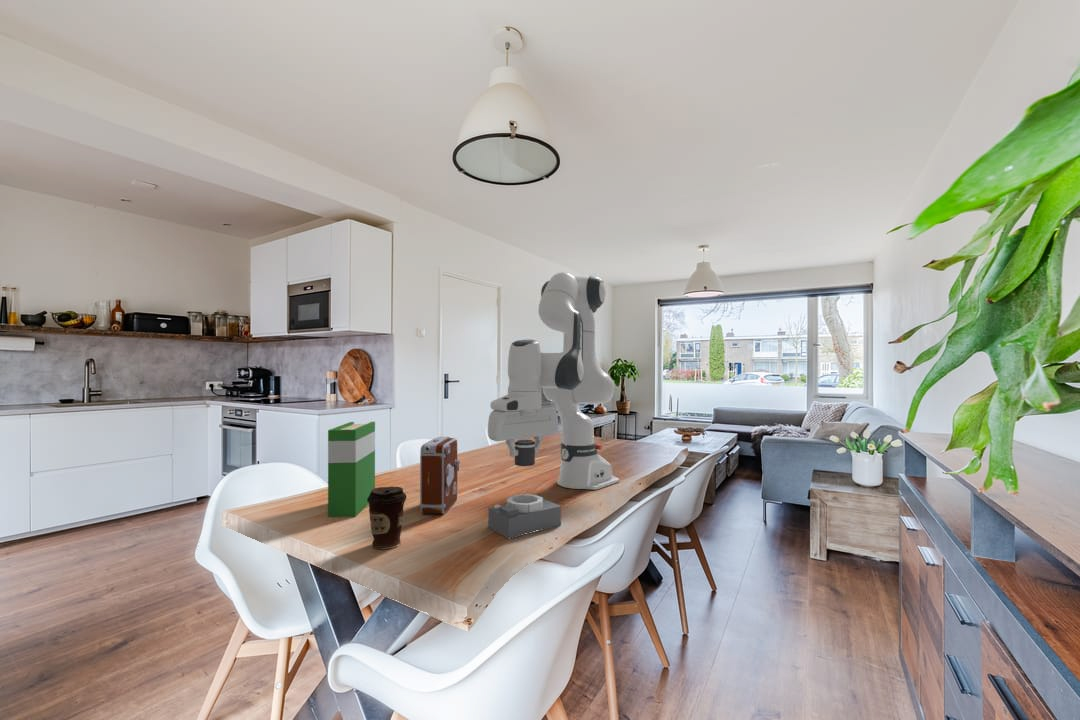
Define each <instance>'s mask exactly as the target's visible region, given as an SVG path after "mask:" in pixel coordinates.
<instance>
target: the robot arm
mask: <svg viewBox="0 0 1080 720" xmlns="http://www.w3.org/2000/svg"><path fill="white" fill-rule="evenodd" d="M540 291H541V292H540V297H541V298H540V300H539V304H538V315H539V318H540V320H541V322H542V323H543V324H544V325H545V326H546V327H548V328H550V329H551V330H553V331H557V332H561V333H563V343H562V344H563V347H562V352H541V346H540V342H539V341H538V340H536V339H522V340H521V339H519V340H515V341H513V342H512V343H511V344H510V347H509V351H508V358H507V376H508V380H509V382H508V386H507V394H506V395H504V396H501V397H498V398H496V399H493V400H492V401H491V402H490V405H489V406H490V409H491V410H492V411H490V413H489V415H488V421H487V436H488V438H489V439H490V440H491V441H495V442H502V441H505V445H506V446H507V447H508V449H509V456H510V457H512V458H515V457H516V456H518V450H517V449H515V442H516V440H522V439H528V438H533V440H535V441H534V442H535V455H537V454H539V453H540V447H541V445H542V442H543V441H544V439H543V438H544V437H546V436H552V435H553V436H554V435H558V432H559V419H560V424H561V425H560V427H561V442H560V457H561V463H560V469H559V475H558V479H557V485H559V486H560V487H563V488H566V489H567V488H568V489H572V490H573V489H575V490H593V491H596V490H599V489H602V488H605V487H608V486H612V485H614V484H617V483H619V482H620V479H619V478H618V477H616V476H615V475H613V468H612V465H611V463H610V462H608V461H607V460H606V459H605V458H604V457H602V455H600V454H599V453H598V450H599V451H602V450H603V447H604V445H603V444H601V443H596V444H595V441H594V439H595V438H594V437H595V436H594V435H595V433H594V432H595V430H594V429H595V427H594V426H595V425H594V422H593V420H592V418H591V417H589V416H588V415H587V414H585V413H583V412H582V411H581V409H580V407H579V404H580V405H599V404H606V403H608V402H610V401H611V400H612V398H613V396H614V394H615V384H614V381H613V379H612V377H611V376H610V375H609V374H608V373H606V372H605V371H604V370H603V369H602V366H601V365H600V364H599V362H598V358H597V355H596V324H595V323H596V322H595V314H594V313H596V312H597V310H598V309H599V308H601V306H602V305H604V303H605V298H606V291H607V290H606V287H605V284H604V281H603V280H602V279H601V277H598V276H592V275H590V276H573V275H572V274H571V273H568V272H558V273H555V274H554V275H553V276H551V278H550V279H549V280H547V281H545V283H544V284H543V285H542V287H541V290H540ZM542 392H543V394H542ZM542 395H544V397H545V399H546V400H542V397H543V396H542ZM558 415H559V418H558Z"/></svg>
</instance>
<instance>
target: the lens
mask: <svg viewBox="0 0 1080 720" xmlns="http://www.w3.org/2000/svg"><path fill="white" fill-rule="evenodd" d="M514 447H515V449H517V450H518V456H516V457H514V465H515V466H518V467H531V466H535V464H536V463H535V461H536V456H535V455H536V454H535V441H533V440H532V439H517V441H515V444H514Z"/></svg>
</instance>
